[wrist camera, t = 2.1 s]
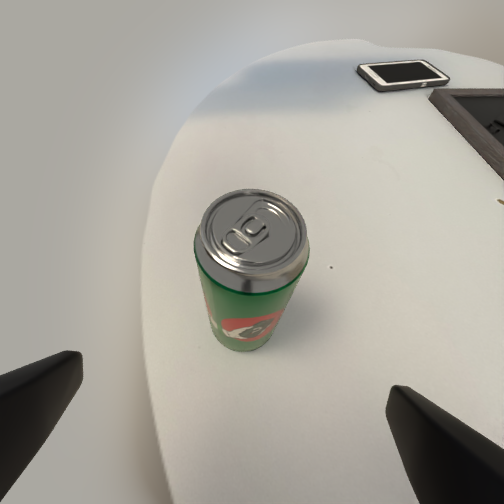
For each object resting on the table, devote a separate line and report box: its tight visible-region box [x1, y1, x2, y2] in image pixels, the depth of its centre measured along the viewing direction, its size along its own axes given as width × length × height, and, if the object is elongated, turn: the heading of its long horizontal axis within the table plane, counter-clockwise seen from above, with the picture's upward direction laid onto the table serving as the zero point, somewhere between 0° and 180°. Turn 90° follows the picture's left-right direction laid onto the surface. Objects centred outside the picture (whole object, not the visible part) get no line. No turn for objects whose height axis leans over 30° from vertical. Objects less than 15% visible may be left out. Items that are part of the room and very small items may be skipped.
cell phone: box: [357, 60, 450, 91], centre depth 45 cm, size 8×15×1 cm, turn 108°
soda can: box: [194, 189, 310, 352], centre depth 15 cm, size 5×5×12 cm
